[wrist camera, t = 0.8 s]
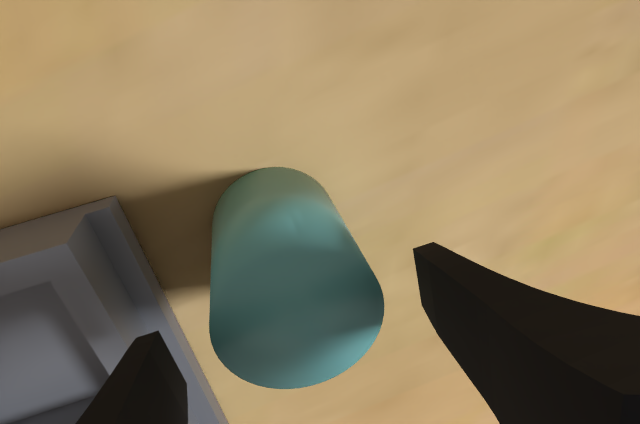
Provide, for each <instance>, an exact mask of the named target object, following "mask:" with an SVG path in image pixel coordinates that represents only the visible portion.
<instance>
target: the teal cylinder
mask: <svg viewBox="0 0 640 424" xmlns="http://www.w3.org/2000/svg"><path fill="white" fill-rule="evenodd" d="M383 316H384V298H383V293H382V290H381V287H380V284H379V282H378V280H377V278H376V277H375V275H374V273H373V271H372V270H371V268H370V266H369V264H368V263H367V261H366V259H365V258H364V256H363V254H362V252H361V251H360V249H359V247H358V245H357V244H356V242H355V240H354V239H353V237H352V235H351V233H350V232H349V230H348V228H347V226H346V225H345V223H344V221H343V220H342V218H341V216H340V214H339V213H338V211H337V209H336V207H335V206H334V204H333V202H332V200H331V199H330V197H329V195H328V194H327V192H326V191H325V189H324V188H323V187H322V186H321V185H320V184H319V183H318V182H317V181H316V180H315V179H313V178H312V177H310V176H309V175H307V174H305V173H303V172H300V171H298V170H294V169H291V168H284V167H271V168H264V169H259V170H256V171H253V172H250V173H248V174H246V175H244V176H242V177H241V178H239V179H238V180H236V181H235V182H234V183H233V184H231V185H230V186H229V187H228V188H227V189H226V191H225V192H224V193H223V194H222V196H221V197H220V199H219V201H218V203H217V205H216V207H215V211H214V214H213V220H212V249H211V284H210V318H209V333H210V338H211V343H212V345H213V348H214V351H215V353H216V354H217V356H218V358H219V359H220V361H221V362H222V363H223V364H224V366H225V367H227V368H228V369H229V370H230V371H231V372H232V373H234V374H235V375H237V376H238V377H240V378H241V379H243V380H245V381H247V382H250V383H253V384H255V385H258V386H263V387H267V388H275V389H293V388H302V387H307V386H311V385H315V384H318V383H321V382H324V381H326V380H329V379H331V378H333V377H335V376H337V375H339V374H341V373H342V372H344V371H345V370H347V369H348V368H350V367H351V366H352V365H354V364H355V363H356V362H357V361H358V360H359V359H360V358H361V357H362V356H363V355H364V354H365V353H366V352H367V351H368V349H369V348H370V347H371V345H372V344H373V342H374V341H375V339H376V337H377V335H378V333H379V331H380V328H381V325H382V321H383Z"/></svg>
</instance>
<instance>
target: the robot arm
mask: <svg viewBox="0 0 640 424" xmlns="http://www.w3.org/2000/svg"><path fill="white" fill-rule="evenodd" d="M413 252H414V259H415V265H416V271H417V278H418V284H419V290H420V297H421V303H422V306H423V308H424V310H425V312H426V314H427V316H428V318H429V320H430V321H431V323H432V325H433V327H434V329H435V330H436V332H437V334H438V336H439V337H440V338H441V340H442V341H443V343H444V344H445V345H446V347H447V348H448V350H449V351H450V352H451V354H452V355H453V357H454V358H455V359H456V361H457V362H458V364H459V365H460V366H461V368H462V369H463V370H464V372H465V373H466V375H467V376H468V377H469V379H470V380H471V381H472V383H473V384H474V386H475V387H476V388H477V390H478V391H479V392H480V394H481V395H482V397H483V398H484V399H485V401H486V402H487V404H488V405H489V407H490V408H491V410H492V411H493V413H494V414H495V416H496V418H497V420H498V421H499V423H500V424H640V316H636V315H631V314H626V313H621V312H617V311H612V310H608V309H604V308H600V307H596V306H592V305H588V304H584V303H580V302H577V301H573V300H570V299H567V298H563V297H560V296H557V295H554V294H551V293H548V292H544V291H542V290H539V289H536V288H533V287H530V286H528V285H525V284H523V283H520V282H518V281H515V280H513V279H510V278H508V277H506V276H503V275H501V274H499V273H496V272H494V271H492V270H490V269H487V268H485V267H483V266H481V265H479V264H477V263H475V262H473V261H471V260H469V259H467V258H465V257H463V256H461V255H459V254H457V253H455V252H453V251H451V250H449V249H447V248H445V247H443V246H441V245H439V244H436V243H434V242H432V243H429V244H426V245H423V246H420V247H417V248H413ZM75 424H188V397H187V383H186V381H185V379H184V377H183V375H182V373H181V372H180V370H179V368H178V366H177V364H176V362H175V360H174V358H173V357H172V355H171V353H170V351H169V349H168V347H167V345H166V343H165V342H164V340H163V338H162V336H161V334H160V332H159V330H158V331H155V332H152V333H149V334H146V335H143V336H140V337H137V338H135V340H134V341H133V342H132V344H131V345H130V347H129V348H128V349H127V351H126V352H125V354H124V355H123V357H122V358H121V360H120V361H119V363H118V364H117V366H116V367H115V369H114V370H113V372H112V373H111V375H110V376H109V377H108V379H107V380H106V382H105V383H104V385H103V386H102V388H101V389H100V391H99V392H98V393H97V395H96V396H95V398H94V399H93V401H92V402H91V403H90V405H89V406H88V407H87V409H86V410H85V411H84V413H83V414H82V415H81V417H80V418H79V419H78V421H77V422H76V423H75Z"/></svg>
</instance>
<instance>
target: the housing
mask: <svg viewBox="0 0 640 424" xmlns="http://www.w3.org/2000/svg"><path fill="white" fill-rule="evenodd" d="M158 330H159V332H160V334H161V336H162V338H163V340H164V342H165V343H166V345H167V347H168V349H169V351H170V353H171V355H172V357H173V358H174V360H175V362H176V364H177V366H178V368H179V370H180V372H181V373H182V375H183V377H184V379H185V381H186V383H187V397H188V424H229V423H228V421H227V419H226V417H225V415H224V413H223V411H222V409H221V407H220V405H219V403H218V401H217V399H216V397H215V395H214V393H213V391H212V389H211V387H210V385H209V383H208V381H207V379H206V377H205V375H204V373H203V371H202V369H201V367H200V365H199V363H198V361H197V359H196V357H195V355H194V353H193V351H192V349H191V347H190V345H189V343H188V341H187V339H186V337H185V335H184V333H183V331H182V329H181V327H180V325H179V323H178V321H177V319H176V317H175V315H174V313H173V311H172V309H171V307H170V305H169V303H168V301H167V299H166V297H165V295H164V293H163V291H162V289H161V287H160V285H159V283H158V281H157V279H156V277H155V275H154V273H153V270H152V268H151V266H150V264H149V262H148V260H147V258H146V256H145V254H144V252H143V250H142V248H141V246H140V244H139V242H138V240H137V238H136V236H135V234H134V232H133V230H132V228H131V226H130V224H129V222H128V220H127V218H126V216H125V214H124V212H123V210H122V208H121V206H120V204H119V202H118V200H117V198H116V196H112V197H109V198H105V199H102V200H99V201H95V202H92V203H88V204H85V205H82V206H78V207H75V208H71V209H68V210H65V211H61V212H58V213H54V214H51V215H48V216H44V217H41V218H37V219H34V220H30V221H27V222H24V223H20V224H17V225H13V226H10V227H7V228H3V229H0V424H75V423H76V422H77V421H78V419H79V418H80V417H81V415H82V414H83V413H84V411H85V410H86V409H87V407H88V406H89V405H90V403H91V402H92V401H93V399H94V398H95V396H96V395H97V393H98V392H99V391H100V389H101V388H102V386H103V385H104V383H105V382H106V380H107V379H108V377H109V376H110V375H111V373H112V372H113V370H114V369H115V367H116V366H117V364H118V363H119V361H120V360H121V358H122V357H123V355H124V354H125V352H126V351H127V349H128V348H129V347H130V345H131V344H132V342H133V341H134V340H135V338H137V337H140V336H143V335H146V334H149V333H152V332H155V331H158Z"/></svg>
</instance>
